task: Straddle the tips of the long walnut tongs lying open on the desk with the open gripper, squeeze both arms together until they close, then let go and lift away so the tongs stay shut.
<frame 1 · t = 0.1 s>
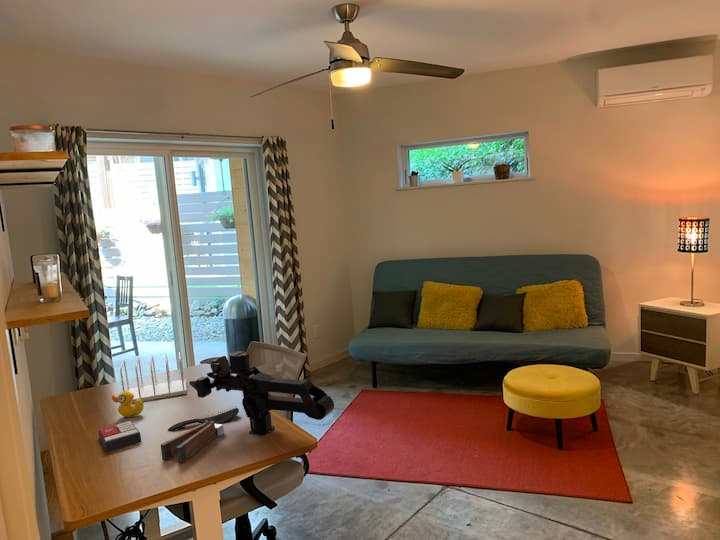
hand: (198, 378, 189), 17 cm above the table, tool horizontal, fingers open, 9 cm apart
file sorter: (156, 394, 227), on the table
duckling: (130, 417, 202), on the table
calculator: (120, 441, 181), on the table
hairbrush: (204, 424, 191), on the table
tong arm 1: (186, 439, 170), point 3 cm above the table, hinge at 7.0°
tong hinge block: (216, 434, 180), on the table
tong arm 2: (197, 441, 168), point 3 cm above the table, hinge at 7.0°
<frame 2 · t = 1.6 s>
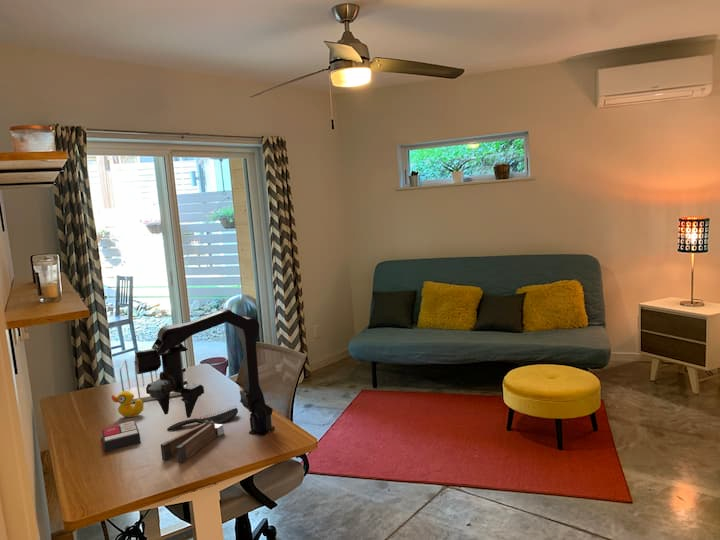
hand: (177, 415, 164), 13 cm above the table, tool pointing down, fingers open, 9 cm apart
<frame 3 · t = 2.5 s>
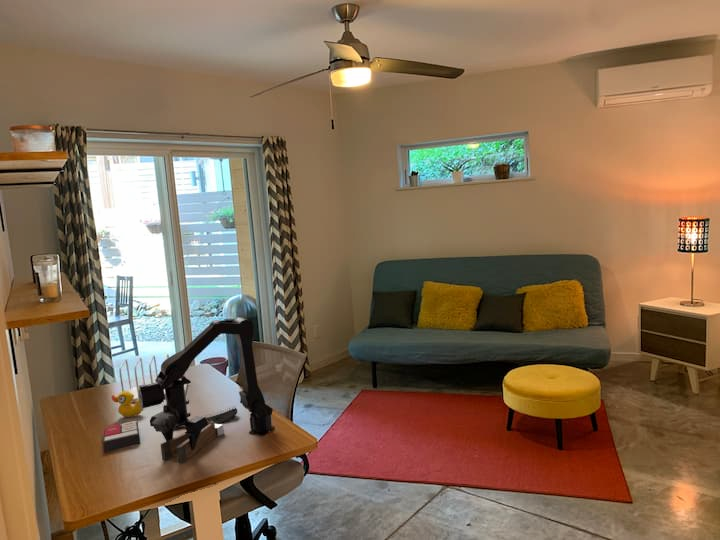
hand: (181, 447, 165), 3 cm above the table, tool pointing down, fingers open, 9 cm apart
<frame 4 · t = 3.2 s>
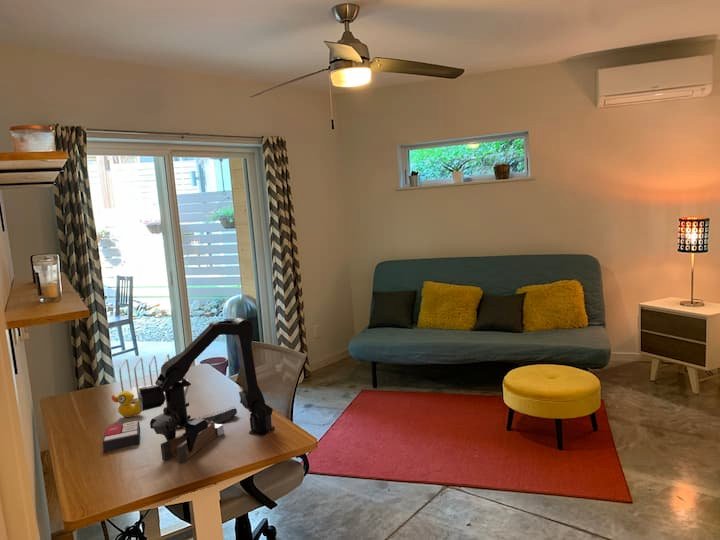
hand: (181, 449, 165), 2 cm above the table, tool pointing down, fingers open, 7 cm apart
tong arm 1: (186, 439, 170), point 3 cm above the table, hinge at 7.0°, touching gripper
tong arm 2: (197, 441, 168), point 3 cm above the table, hinge at 7.0°, touching gripper
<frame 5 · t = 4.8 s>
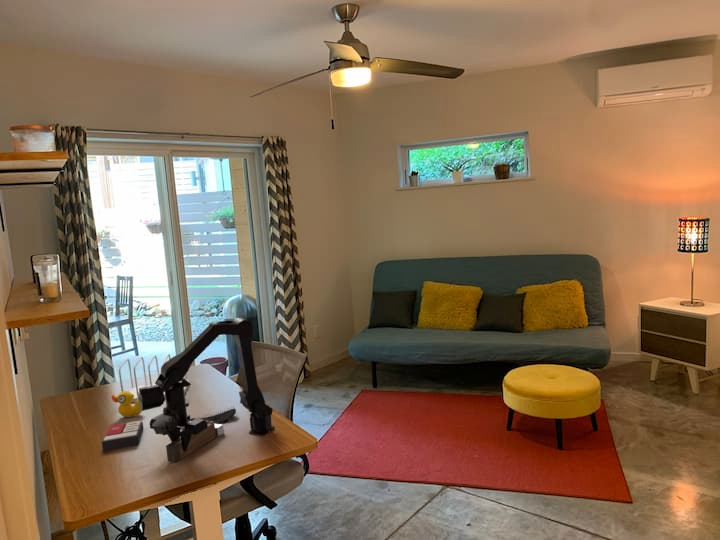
hand: (181, 450, 165), 2 cm above the table, tool pointing down, fingers open, 3 cm apart
tong arm 1: (189, 439, 170), point 3 cm above the table, hinge at -0.7°, touching gripper
tong arm 2: (193, 440, 169), point 3 cm above the table, hinge at -0.7°, touching gripper
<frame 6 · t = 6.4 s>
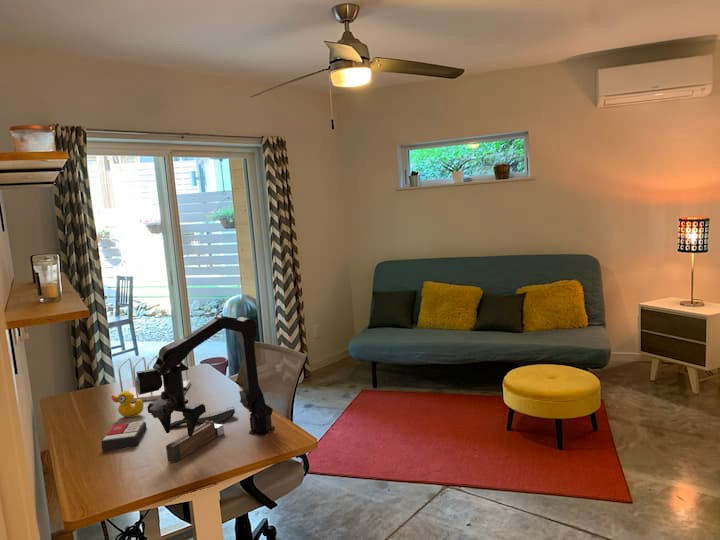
hand: (179, 434, 164), 7 cm above the table, tool pointing down, fingers open, 9 cm apart
tong arm 1: (189, 439, 170), point 3 cm above the table, hinge at -0.7°
tong arm 2: (193, 440, 169), point 3 cm above the table, hinge at -0.7°
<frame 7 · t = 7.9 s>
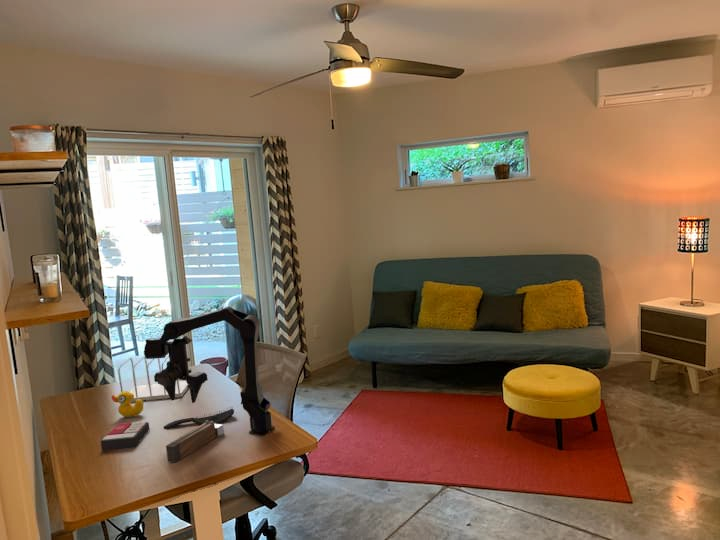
hand: (183, 401, 180), 12 cm above the table, tool pointing down, fingers open, 9 cm apart
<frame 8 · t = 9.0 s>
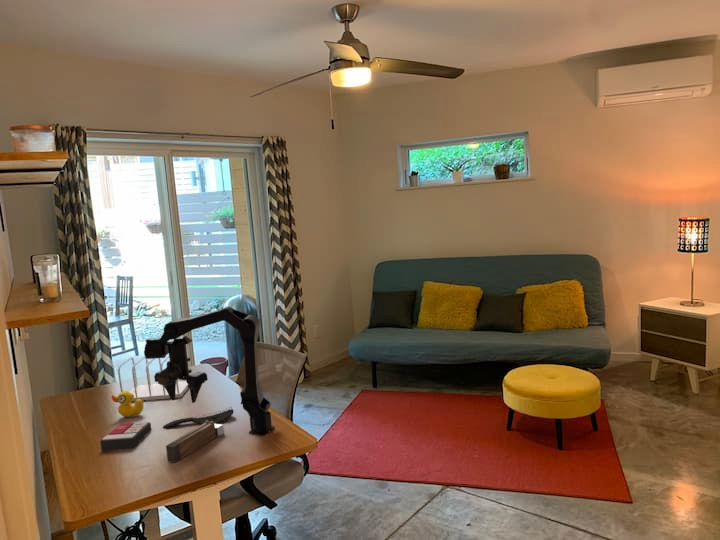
hand: (183, 401, 180), 12 cm above the table, tool pointing down, fingers open, 9 cm apart
at the end: tong arm 2 at -1° (first picture: +7°); tong arm 1 at -1° (first picture: +7°) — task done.
